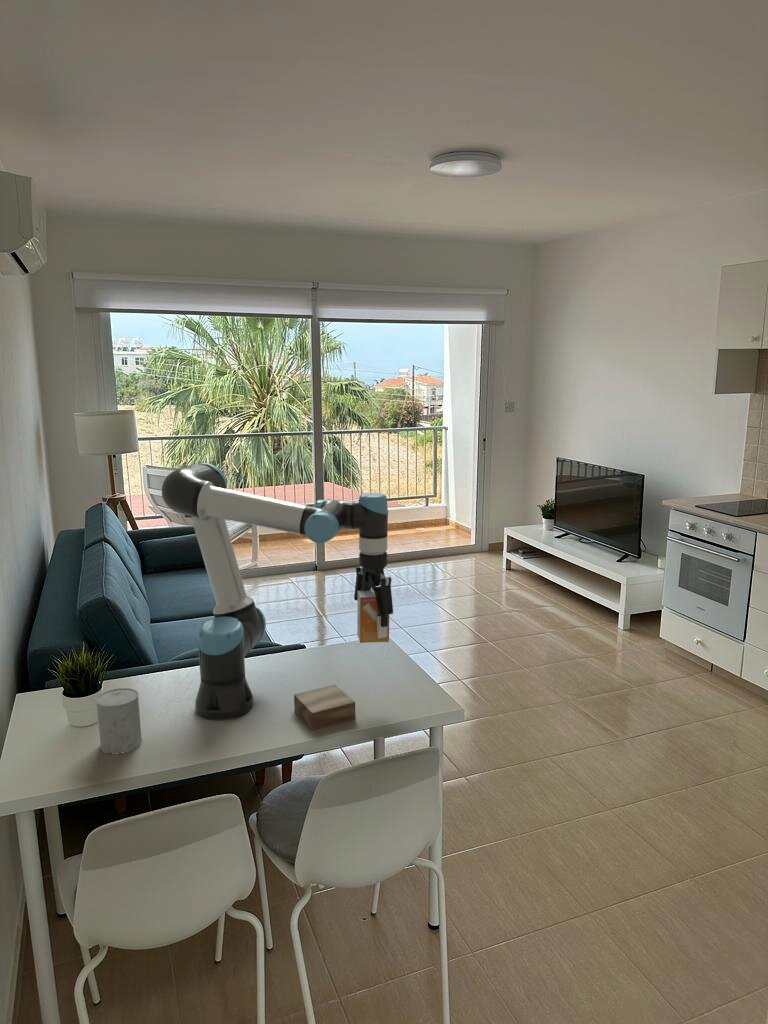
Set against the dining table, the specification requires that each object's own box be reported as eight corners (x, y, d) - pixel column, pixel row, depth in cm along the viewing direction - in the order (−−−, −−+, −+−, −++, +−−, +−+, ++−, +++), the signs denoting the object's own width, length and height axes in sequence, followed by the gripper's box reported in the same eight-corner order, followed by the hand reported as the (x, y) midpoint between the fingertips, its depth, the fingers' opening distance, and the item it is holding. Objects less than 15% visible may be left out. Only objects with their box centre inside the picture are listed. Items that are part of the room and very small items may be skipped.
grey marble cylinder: (149, 736, 180) (146, 690, 178) (128, 756, 171) (124, 708, 168) (115, 732, 182) (111, 686, 180) (92, 751, 173) (87, 704, 171)
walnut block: (294, 712, 193) (294, 694, 192) (335, 701, 199) (335, 684, 198) (312, 731, 183) (312, 713, 182) (355, 719, 188) (355, 702, 187)
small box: (359, 643, 194) (359, 597, 192) (357, 635, 201) (357, 589, 198) (389, 642, 196) (390, 595, 193) (386, 633, 202) (386, 588, 199)
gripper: (407, 558, 187) (406, 641, 191) (364, 541, 204) (363, 618, 208) (383, 562, 183) (383, 647, 187) (340, 545, 200) (341, 623, 204)
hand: (372, 632), depth 198 cm, fingers closed on small box, 8 cm apart
